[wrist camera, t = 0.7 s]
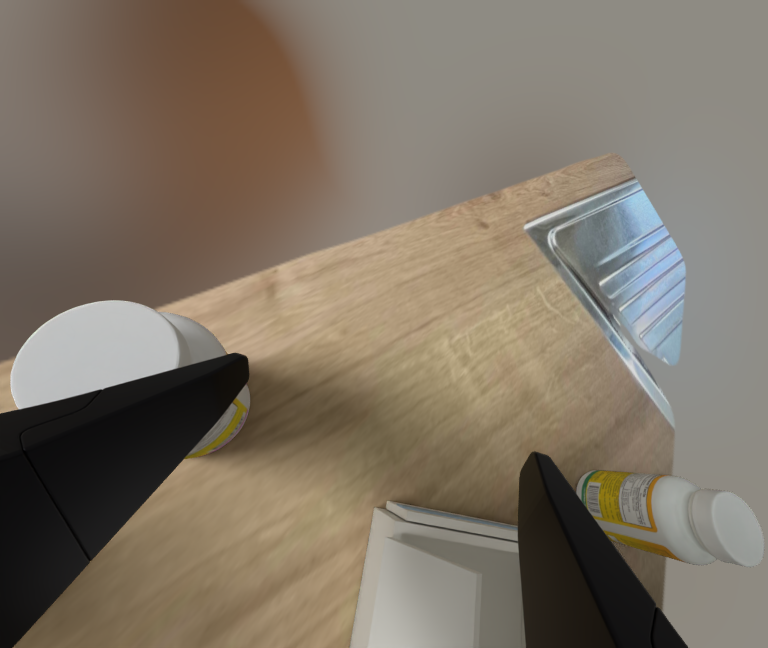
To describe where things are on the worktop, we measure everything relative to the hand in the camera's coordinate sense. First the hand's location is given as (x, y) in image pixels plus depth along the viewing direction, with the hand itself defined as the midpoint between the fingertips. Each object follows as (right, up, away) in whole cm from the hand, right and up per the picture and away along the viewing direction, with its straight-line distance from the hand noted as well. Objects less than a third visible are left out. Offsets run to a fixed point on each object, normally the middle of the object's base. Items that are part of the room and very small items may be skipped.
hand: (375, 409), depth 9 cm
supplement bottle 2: (+19, -13, +18) cm, 30 cm away
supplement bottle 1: (-13, -3, +13) cm, 18 cm away
